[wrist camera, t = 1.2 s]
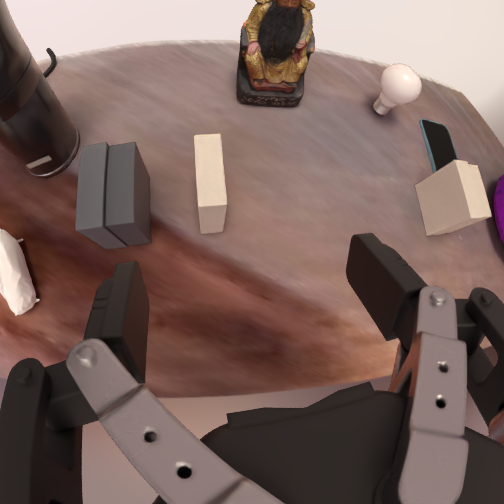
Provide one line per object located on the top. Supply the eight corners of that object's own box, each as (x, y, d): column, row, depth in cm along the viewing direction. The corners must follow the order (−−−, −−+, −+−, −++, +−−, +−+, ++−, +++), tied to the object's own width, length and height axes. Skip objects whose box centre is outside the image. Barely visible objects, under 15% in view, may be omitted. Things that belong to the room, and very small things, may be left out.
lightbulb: (378, 92, 45) (408, 53, 34) (401, 120, 45) (435, 84, 34) (354, 100, 44) (383, 58, 33) (378, 131, 43) (414, 92, 33)
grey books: (105, 249, 35) (75, 230, 26) (106, 181, 36) (81, 146, 27) (151, 244, 36) (132, 223, 26) (149, 175, 37) (134, 137, 28)
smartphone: (446, 125, 46) (468, 199, 43) (443, 128, 47) (464, 201, 44) (419, 117, 45) (441, 195, 42) (416, 120, 46) (437, 197, 43)
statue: (230, 105, 41) (247, -10, 21) (235, 67, 42) (252, -38, 23) (312, 117, 42) (367, 17, 23) (311, 79, 44) (355, -15, 24)
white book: (201, 234, 37) (198, 207, 27) (196, 176, 38) (193, 134, 28) (222, 232, 37) (227, 204, 27) (217, 174, 38) (220, 133, 29)
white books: (426, 236, 41) (471, 218, 31) (414, 185, 42) (454, 159, 33) (450, 233, 42) (494, 217, 32) (439, 186, 43) (478, 162, 34)
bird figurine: (3, 260, 33) (16, 323, 30) (-19, 236, 28) (-11, 305, 24) (29, 246, 35) (45, 308, 32) (9, 219, 29) (20, 287, 26)
